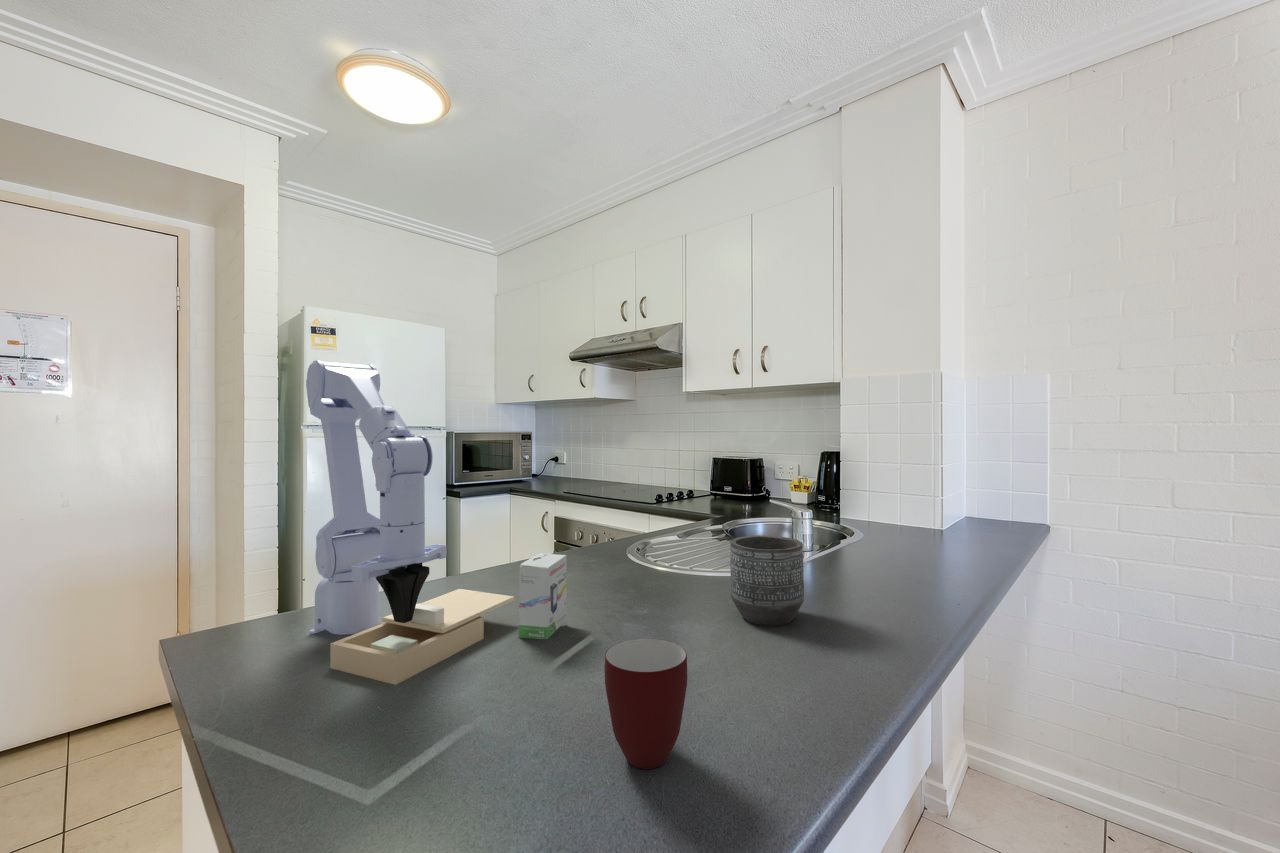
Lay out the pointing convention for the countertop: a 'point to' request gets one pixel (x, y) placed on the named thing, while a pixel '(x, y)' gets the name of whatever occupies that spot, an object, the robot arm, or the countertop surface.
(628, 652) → the mug
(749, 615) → the planter
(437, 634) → the tray
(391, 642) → the soap bar
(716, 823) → the countertop surface
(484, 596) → the mailer lid
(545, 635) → the ink box
